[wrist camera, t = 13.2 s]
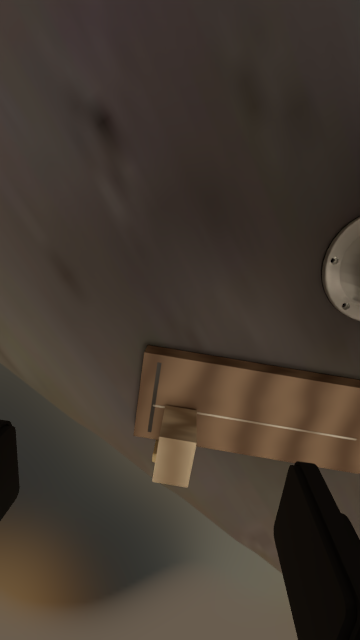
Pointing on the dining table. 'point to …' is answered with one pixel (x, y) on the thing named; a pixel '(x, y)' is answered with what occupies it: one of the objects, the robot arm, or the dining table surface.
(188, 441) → the tan cardboard box
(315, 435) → the walnut board
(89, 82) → the dining table surface
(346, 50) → the dining table surface
